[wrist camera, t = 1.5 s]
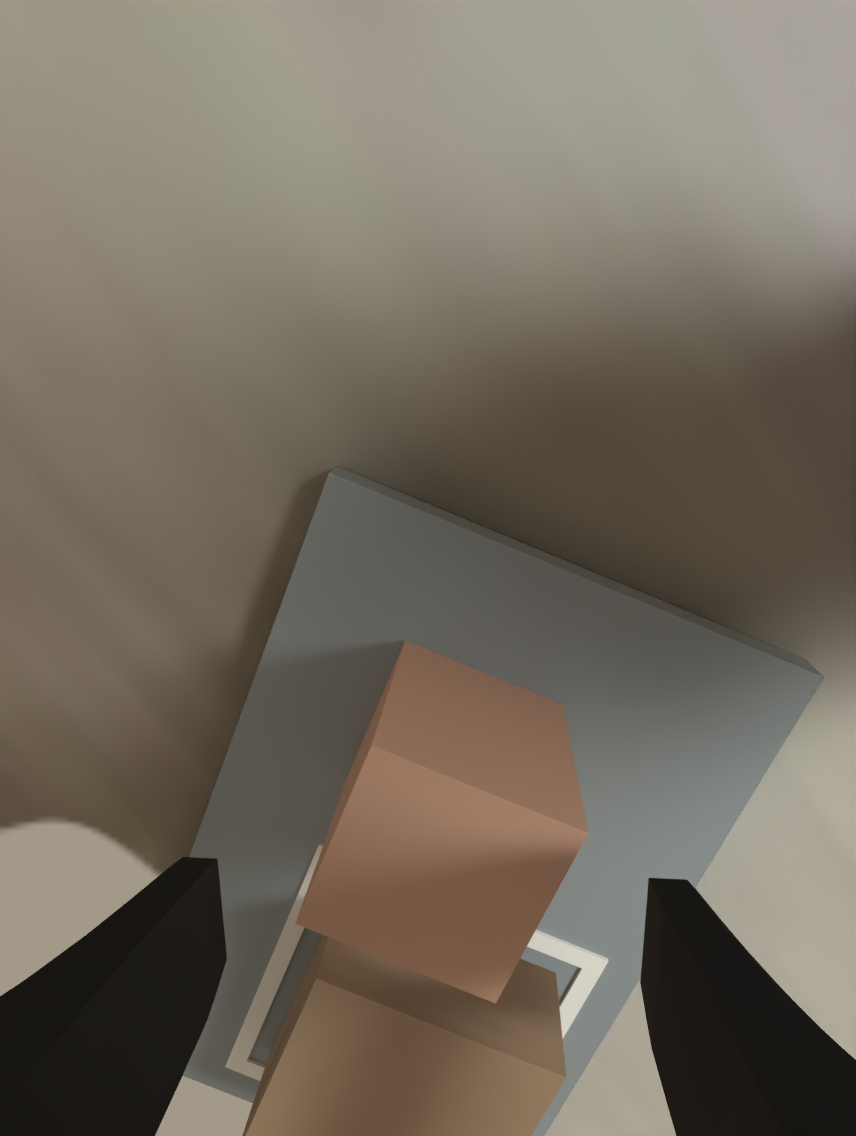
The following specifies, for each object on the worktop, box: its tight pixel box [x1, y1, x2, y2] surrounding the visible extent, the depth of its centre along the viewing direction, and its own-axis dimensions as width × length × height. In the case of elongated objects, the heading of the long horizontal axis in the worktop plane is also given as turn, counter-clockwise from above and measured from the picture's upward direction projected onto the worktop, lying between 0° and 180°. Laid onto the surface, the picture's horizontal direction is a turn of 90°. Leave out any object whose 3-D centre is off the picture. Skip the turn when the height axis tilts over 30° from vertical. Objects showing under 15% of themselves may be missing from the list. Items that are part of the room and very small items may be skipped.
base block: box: [243, 935, 566, 1136], centre depth 19 cm, size 6×6×3 cm
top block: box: [295, 641, 588, 1004], centre depth 16 cm, size 4×4×5 cm
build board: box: [183, 467, 824, 1136], centre depth 20 cm, size 12×18×1 cm, turn 158°
